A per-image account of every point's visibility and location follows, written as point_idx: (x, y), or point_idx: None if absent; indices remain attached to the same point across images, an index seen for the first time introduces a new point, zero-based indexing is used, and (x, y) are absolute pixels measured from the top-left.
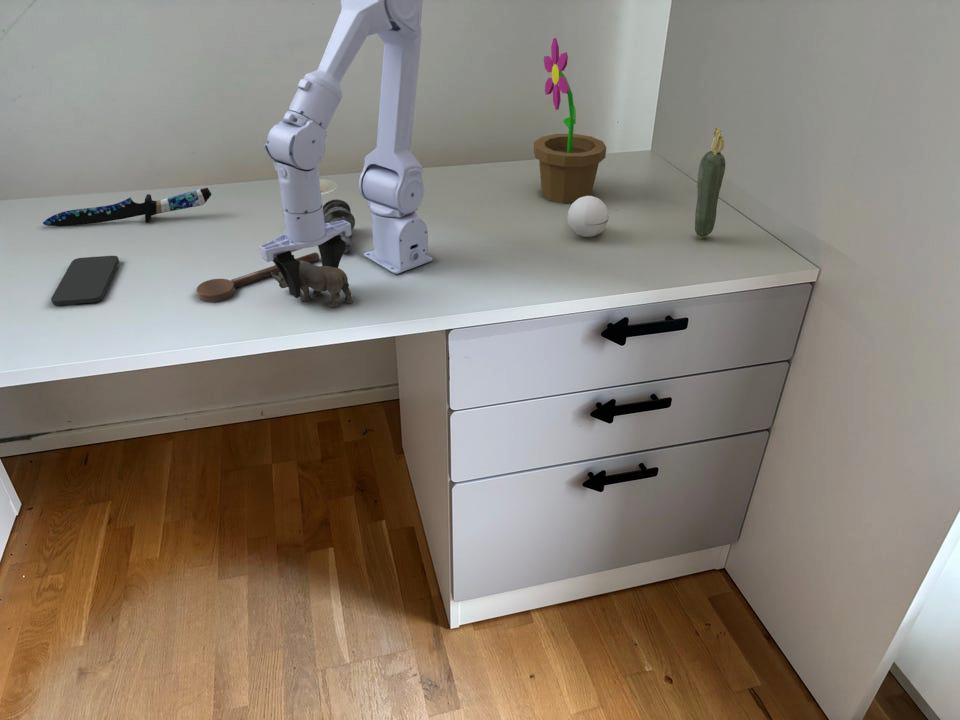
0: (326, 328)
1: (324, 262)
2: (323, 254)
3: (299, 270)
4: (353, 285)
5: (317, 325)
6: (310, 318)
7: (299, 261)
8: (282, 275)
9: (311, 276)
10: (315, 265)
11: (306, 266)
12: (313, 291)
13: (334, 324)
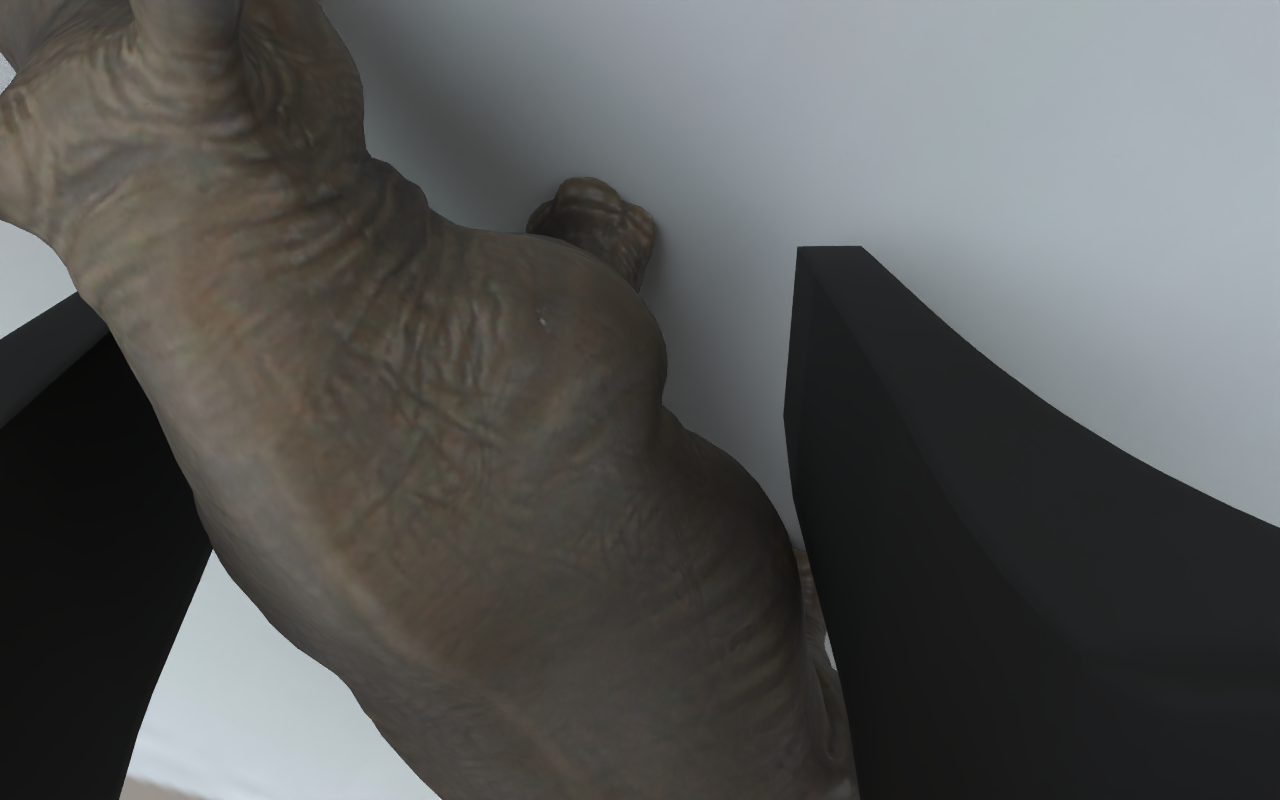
0: (325, 795)
1: (879, 487)
2: (915, 633)
3: (234, 580)
4: (1124, 318)
5: (271, 730)
6: (258, 614)
7: (284, 554)
8: (16, 17)
9: (380, 733)
10: (564, 690)
11: (367, 687)
12: (549, 232)
13: (420, 785)
